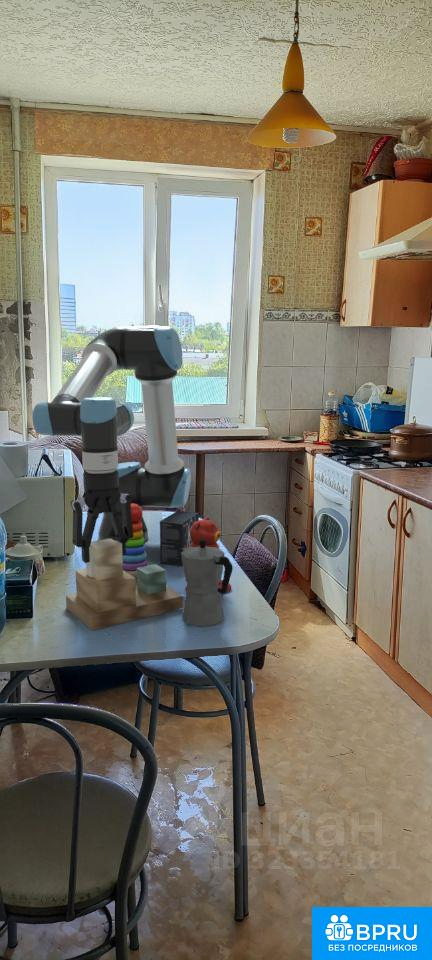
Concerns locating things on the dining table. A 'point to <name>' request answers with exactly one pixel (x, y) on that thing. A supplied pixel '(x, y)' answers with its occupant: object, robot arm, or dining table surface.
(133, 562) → the stacking toy
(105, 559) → the oak block
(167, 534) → the small box
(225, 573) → the coffeepot
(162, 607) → the base
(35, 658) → the dining table surface
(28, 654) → the dining table surface
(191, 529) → the stacking bear
